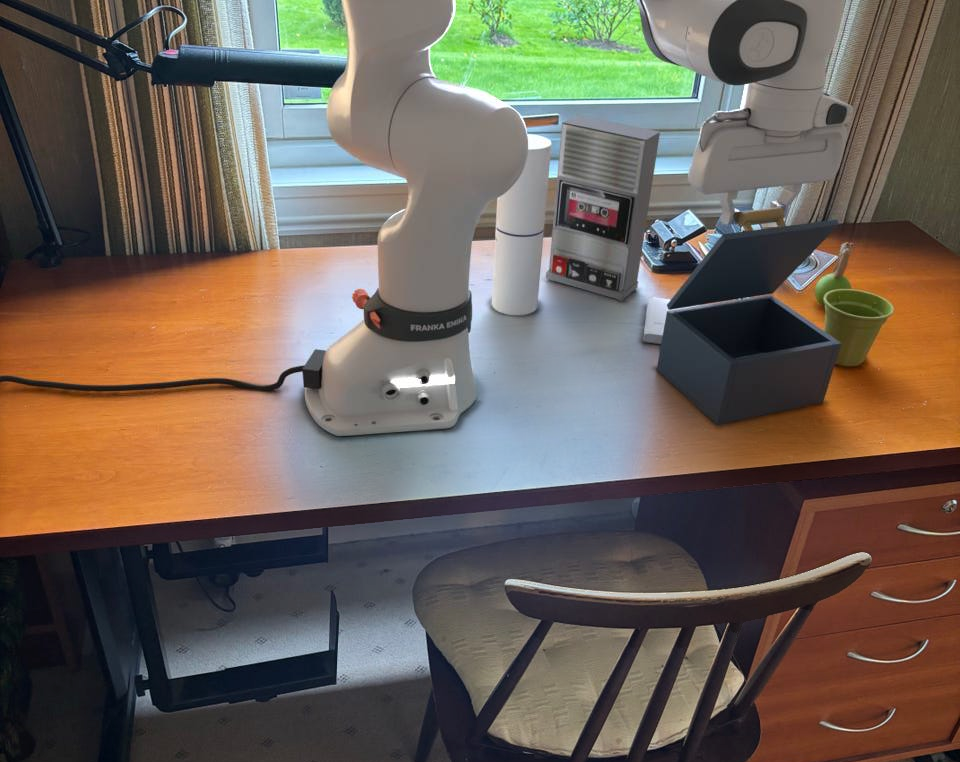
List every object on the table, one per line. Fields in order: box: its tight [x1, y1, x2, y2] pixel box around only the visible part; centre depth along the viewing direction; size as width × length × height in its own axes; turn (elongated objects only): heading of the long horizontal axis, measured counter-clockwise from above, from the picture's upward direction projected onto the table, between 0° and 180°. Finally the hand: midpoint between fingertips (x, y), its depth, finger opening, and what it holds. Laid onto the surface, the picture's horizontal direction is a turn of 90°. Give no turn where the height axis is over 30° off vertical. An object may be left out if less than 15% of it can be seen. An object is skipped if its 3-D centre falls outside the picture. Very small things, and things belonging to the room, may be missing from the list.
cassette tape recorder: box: [545, 114, 661, 302], centre depth 142 cm, size 14×6×25 cm, turn 58°
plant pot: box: [823, 288, 895, 367], centre depth 130 cm, size 9×9×9 cm
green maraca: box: [814, 241, 855, 308], centre depth 143 cm, size 5×6×12 cm
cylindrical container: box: [491, 133, 552, 316], centre depth 135 cm, size 7×7×25 cm
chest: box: [656, 294, 842, 425], centre depth 123 cm, size 15×17×9 cm
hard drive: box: [642, 296, 701, 345], centre depth 138 cm, size 2×8×12 cm
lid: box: [667, 207, 840, 310], centre depth 119 cm, size 16×17×5 cm
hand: (753, 220), depth 116 cm, fingers closed on lid, 6 cm apart
